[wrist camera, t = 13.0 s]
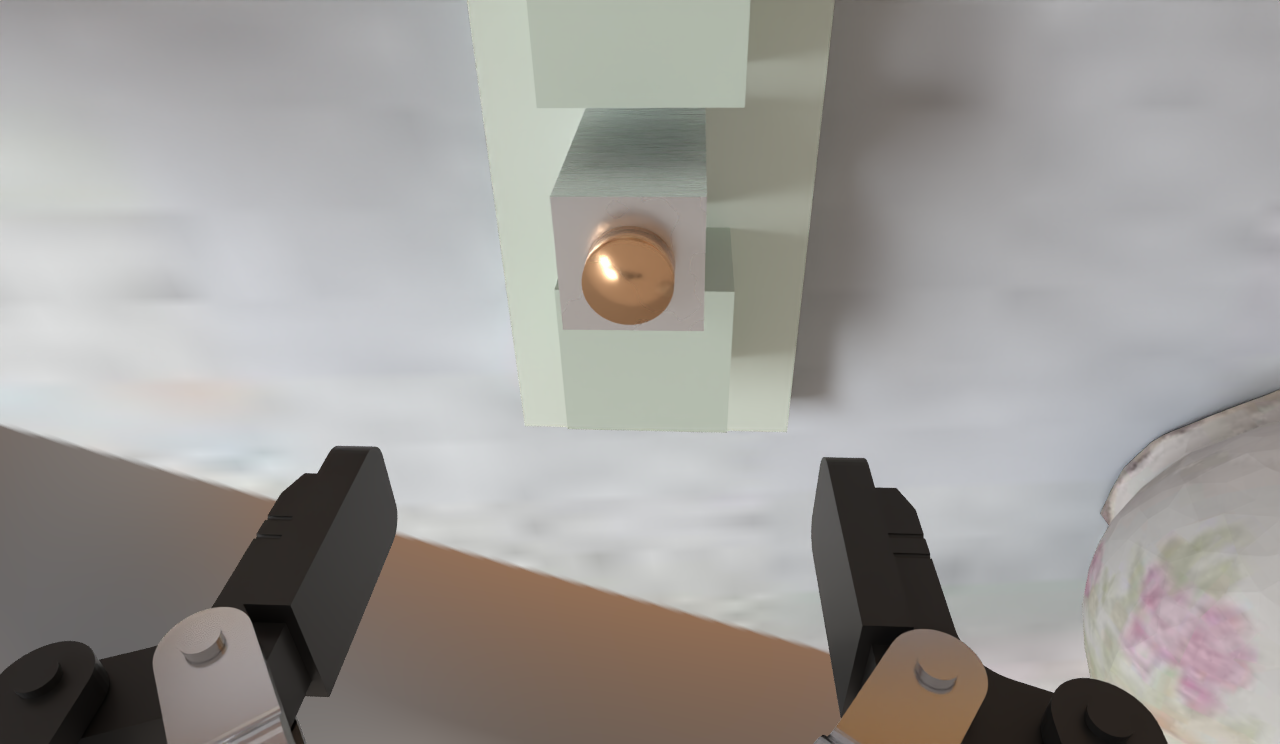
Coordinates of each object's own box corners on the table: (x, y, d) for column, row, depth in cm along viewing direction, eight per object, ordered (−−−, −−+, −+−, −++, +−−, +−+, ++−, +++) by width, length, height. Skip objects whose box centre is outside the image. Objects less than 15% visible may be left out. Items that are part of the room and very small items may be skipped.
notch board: (534, 393, 38) (502, 502, 32) (467, -146, 26) (394, -136, 19) (781, 398, 37) (797, 511, 31) (839, -155, 25) (884, -148, 19)
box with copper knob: (590, 95, 27) (543, 213, 19) (705, 94, 27) (706, 212, 19) (597, 203, 30) (557, 349, 21) (703, 203, 29) (703, 350, 21)
